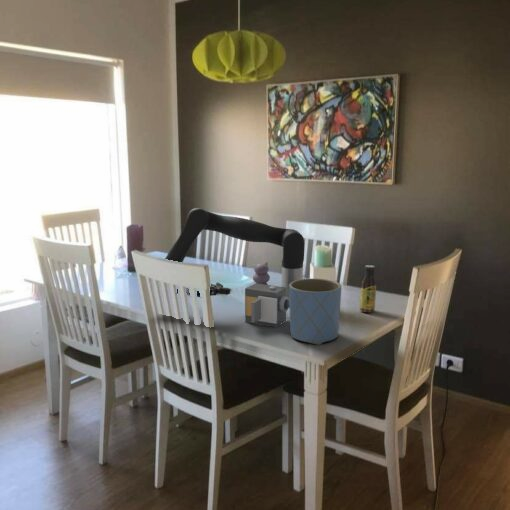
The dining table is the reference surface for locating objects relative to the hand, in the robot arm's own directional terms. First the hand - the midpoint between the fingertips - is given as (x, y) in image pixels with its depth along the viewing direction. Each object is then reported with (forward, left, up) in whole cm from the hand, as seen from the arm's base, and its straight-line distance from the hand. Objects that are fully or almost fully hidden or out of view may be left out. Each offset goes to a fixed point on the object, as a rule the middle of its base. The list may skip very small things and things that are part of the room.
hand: (229, 291), depth 219 cm
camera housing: (-14, +6, -13) cm, 21 cm away
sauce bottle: (-58, +16, -13) cm, 62 cm away
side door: (-9, +12, -11) cm, 19 cm away
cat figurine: (-39, -41, -13) cm, 58 cm away
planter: (-21, +29, -14) cm, 38 cm away
